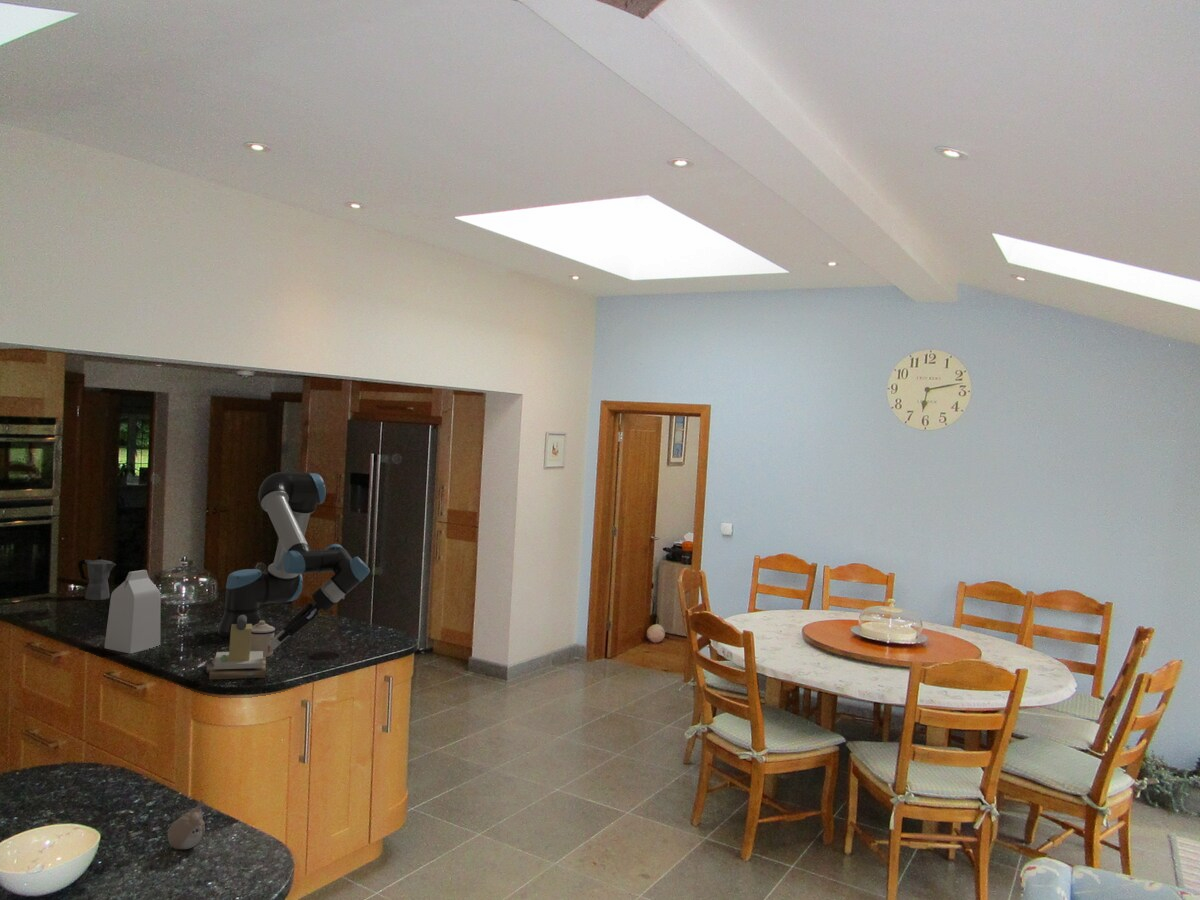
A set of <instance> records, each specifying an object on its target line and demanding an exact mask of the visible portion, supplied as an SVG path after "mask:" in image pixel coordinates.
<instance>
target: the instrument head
mask: <svg viewBox="0 0 1200 900" xmlns="http://www.w3.org/2000/svg"><path fill="white" fill-rule="evenodd" d="M246 623H247V617H246V616H245V615H240V616H239V617H238V620H237V624H232V626H231V634H230V637H229V649H228V650H229V651H216V654H215V657H214V658H215V662H214V669H242V668H262V665H263V651H250V644H251V630H252V624H246Z"/></svg>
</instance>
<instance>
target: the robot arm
mask: <svg viewBox="0 0 1200 900" xmlns="http://www.w3.org/2000/svg"><path fill="white" fill-rule="evenodd" d="M326 494H327V491H326V484H325V481H324V479H323V477H322V476H321V475H320V474H318V473H314V472H290V471H289V472H288V471H287V472H286V471H278V472H274V473H272V474H270V475H268V476H267V477H266V478H265V479H264V480H263V481H262V483H261V484H260V486H259V489H258V495H257V496H258V501H259V505H260V507H261V509H262V510H264V512H266V513H267V514H268V516H269V519H270V521H271V523H272V525H273V528H274V531H275V532H276V535H277V536H278V543H277V547H276V550H275V556H274V560H273V562H272V563H271V564H270V563H269V565H268V566H267V571H266V572H262V571H261V569H258V568H251V569H250V568H246V569H239V570H235V571H233V572H231V573H229V574H228V576H227V579H226V584H225V603H224V614H223V615H222V618H221V620H220V623H219V625H218V628H217V629H218V630H217V635H218V636H221V637H224V638H230V634H231V626H232V624H237V620H238V617H239V616H240V615H245V616H246V617H247V623H246V624H252V626H254V625H256V624H259V621H261V617H260V614H259V607H260V605H264V604H274V603H288V602H293V601H295V600H297V599H298V598H299V597H300V595H301V593H302V590H303V585H304V584H303V582H304V579H303V575H302V574H314V573H330V572H332V573H333V574H334V575H333V576H331V577H330V578H329V579H327V581H325V583H323V584H322V585H321V588H318V589H317V590H316V591H314V592H313V593H312V594H311V598H312V600H313V602H311V603H310V602H308V603H307V604H306V605H305V606H304V607H303V609H301V611H299V612H298V613H297V614H296V615H295V616H293V618H292V619H291V620H290V621H289V622H288V623H286V624H285V626H284V627H283V628H282V630H281V631H280V632H278V633H277V634H276V635H274V638H273V639H272V640H271V641H270V642H268V645H269V646H270V647H271V648H272V649H273V651H274V650H275V649H277V648H278V647H279V646H280V645H281V644H282V643H284V641H286V640H287V638H289V637H290V636H294V634H296V633H297V632H298V631H300V630H301V629H302V628H303V627H304V626H306V625H308V623H309V622H310V621H312V620H314V619H315V617H316V616H317V615H319V612H320V610H323V611H324V612H329V611H330V610H331V609H332V608H333V607H334V606H335V603H338V602H340V600H341V599H342V600H345V596H346V595H348V593H350V591H352V590H353V589H355V588H356V587H357V586H358V585H359V584H360V583H361V582H363V581H364V579H366V577H367V576H368V575H369V574H370V573H371V569H370V568H369V566H367V564H366V562H364V561H363V560H362V559H361V558H360V557H359V556H354V557H352V556H351V555H350V554H349V552H348V550H347V549H345V548H344V547H343V546H342V545H341V544H339V543H331V544H330V545H328V546H327V547H325V548H324V549H317V550H316V549H311V547H310V546H309V544H308V542H307V539H306V537H305V536H306V531H307V528H308V523H309V520H310V516H311V514H313V513H314V512H315V511H316V509H317V505H322V504H323V503H324V502H325V500H326Z"/></svg>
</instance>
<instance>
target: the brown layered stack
mask: <svg viewBox="0 0 1200 900" xmlns="http://www.w3.org/2000/svg"><path fill="white" fill-rule="evenodd" d="M211 660H212V661H211V663H210V664H207V665H206V673H207V674H209V677H208V679H209V680H226V679H227V680H228V679H230V680H233V679H234V680H235V679H258V678H259V679H260V678H266V671H267V670H266V669H267V668H266V665H267V657H263V665H262V668H242V669H214V662H215V657H214V658H212V659H211Z"/></svg>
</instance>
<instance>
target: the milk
mask: <svg viewBox="0 0 1200 900" xmlns="http://www.w3.org/2000/svg"><path fill="white" fill-rule="evenodd" d="M109 599H110V602H109V609H108V617H107V624H106V625H107V626H106V633H105V641H104V649H108V650H111V651H116V652H121V653H125V654H135V653H139V652H141V651H142V652H143V651H146V650H149V648H150V649H153V647H154V648H157V647H156V646H158V647H160V646H161V608H162V607H161V602H162V601H161V599H162V598H161V591H160V589H159V588H158V587H157V586H156V584H154V581H152V580H151V578H150V577H149V573H148V570H147V569H140V570H134V571H129V572H128V573H127V575H126V577H125V580H124V581H123V582H122V583H121V584H120V585H118V586H117V587H116V588H115V589H114V590H113V591H112V592H111V594H110V598H109ZM159 645H160V646H159Z"/></svg>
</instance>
